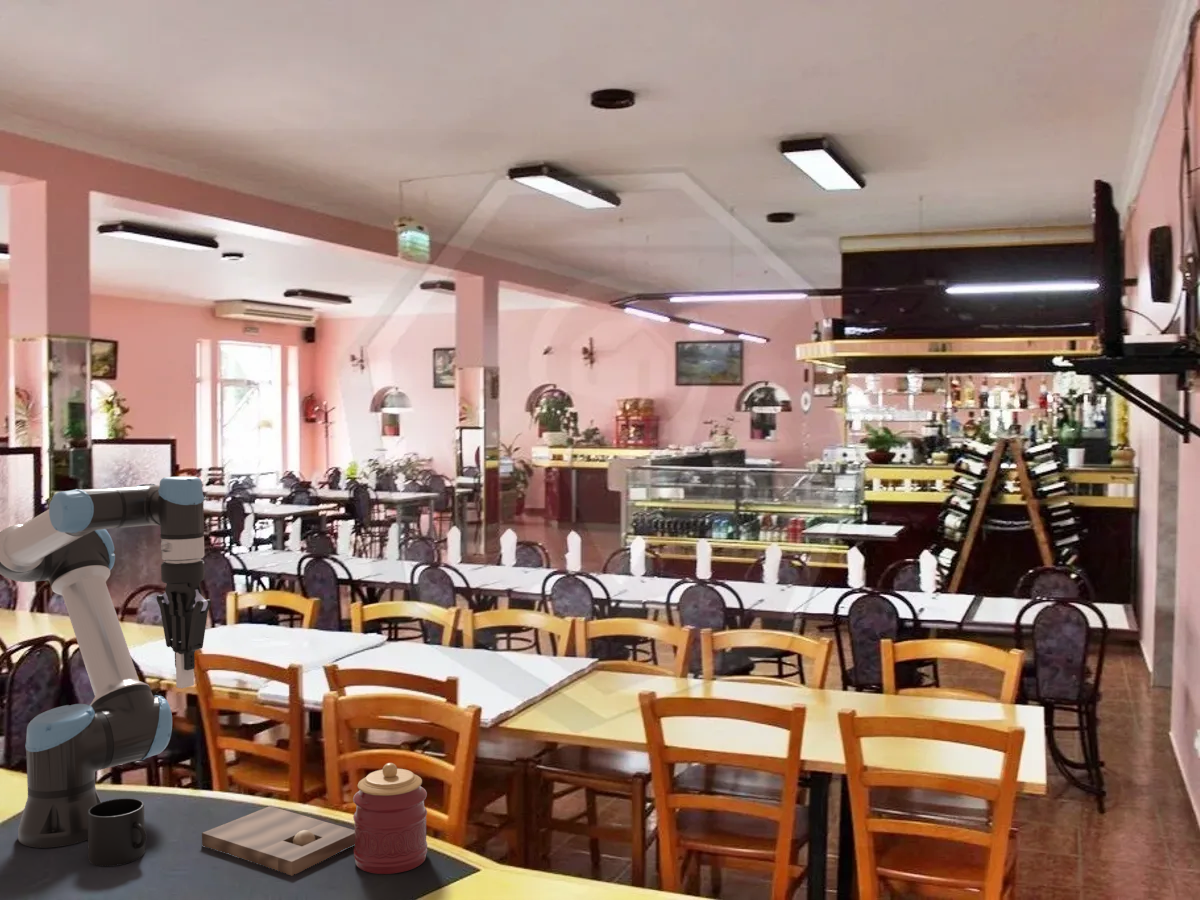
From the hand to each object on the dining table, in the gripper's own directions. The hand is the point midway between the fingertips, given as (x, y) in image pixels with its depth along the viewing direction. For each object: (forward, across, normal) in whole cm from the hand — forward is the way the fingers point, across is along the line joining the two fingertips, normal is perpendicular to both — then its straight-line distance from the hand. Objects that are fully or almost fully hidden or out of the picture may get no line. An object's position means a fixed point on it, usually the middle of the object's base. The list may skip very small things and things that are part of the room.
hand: (185, 686), depth 205 cm
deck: (+29, +16, +8) cm, 34 cm away
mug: (+30, -4, -11) cm, 32 cm away
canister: (+30, +38, +14) cm, 50 cm away
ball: (+27, +22, +8) cm, 36 cm away
